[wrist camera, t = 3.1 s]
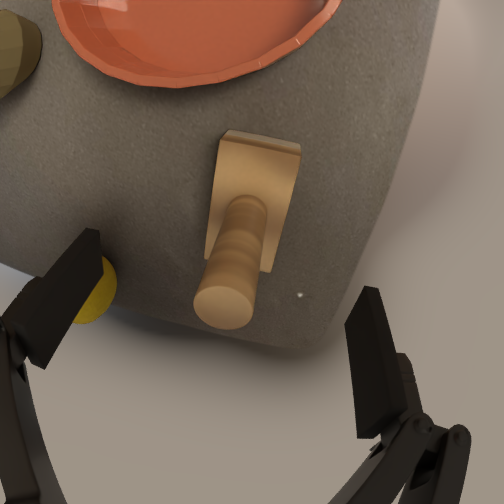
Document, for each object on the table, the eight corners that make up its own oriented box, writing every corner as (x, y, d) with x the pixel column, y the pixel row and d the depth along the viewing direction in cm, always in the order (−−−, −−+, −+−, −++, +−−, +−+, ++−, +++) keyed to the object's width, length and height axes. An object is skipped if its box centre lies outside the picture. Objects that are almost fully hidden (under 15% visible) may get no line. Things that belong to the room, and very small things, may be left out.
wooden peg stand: (228, 128, 21) (169, 203, 11) (300, 143, 21) (310, 233, 11) (212, 237, 26) (167, 356, 16) (272, 249, 26) (259, 376, 16)
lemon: (83, 274, 30) (45, 328, 24) (79, 230, 27) (32, 283, 21) (129, 289, 31) (96, 349, 24) (129, 244, 27) (88, 305, 21)
